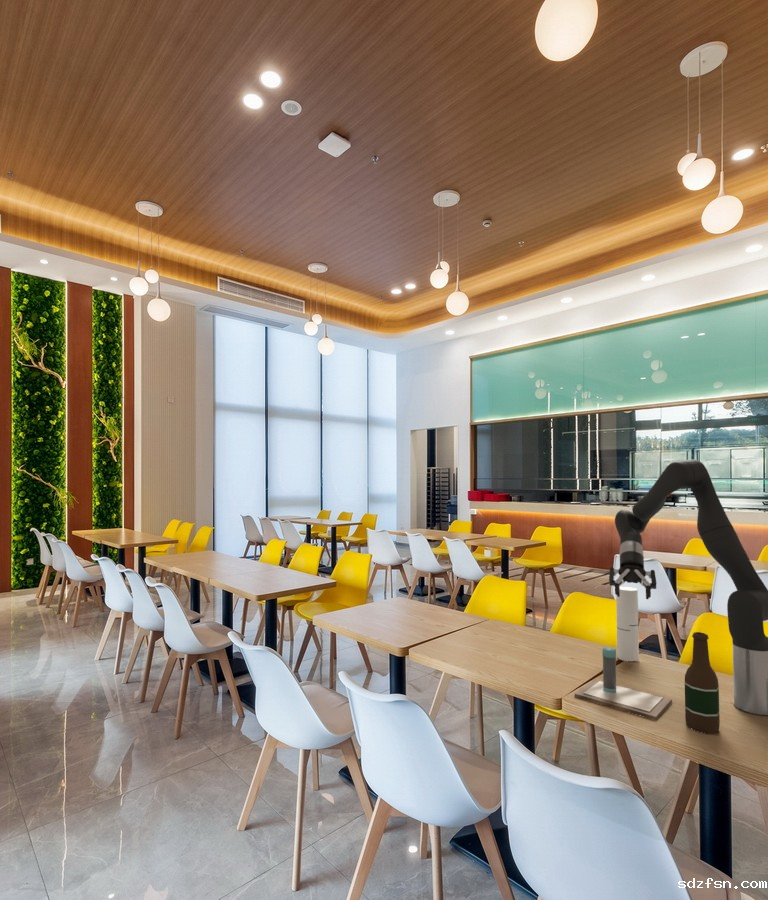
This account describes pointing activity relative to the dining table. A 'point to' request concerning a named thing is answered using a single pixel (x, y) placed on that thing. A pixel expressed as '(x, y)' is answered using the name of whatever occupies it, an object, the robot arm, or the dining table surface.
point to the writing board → (625, 699)
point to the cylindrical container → (627, 624)
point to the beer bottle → (701, 689)
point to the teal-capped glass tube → (609, 669)
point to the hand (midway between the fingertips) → (632, 596)
